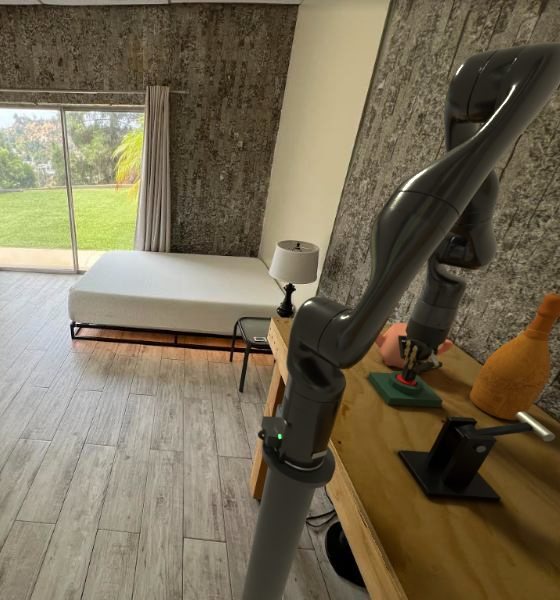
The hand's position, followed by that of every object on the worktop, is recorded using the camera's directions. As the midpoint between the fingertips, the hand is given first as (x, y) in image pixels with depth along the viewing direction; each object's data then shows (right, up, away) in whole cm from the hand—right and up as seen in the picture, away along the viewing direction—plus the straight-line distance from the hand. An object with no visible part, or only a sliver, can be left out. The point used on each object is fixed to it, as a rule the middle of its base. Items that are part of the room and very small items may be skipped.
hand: (407, 379), depth 80 cm
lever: (-3, -4, -25) cm, 25 cm away
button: (0, -2, +1) cm, 2 cm away
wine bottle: (+19, -6, -3) cm, 20 cm away
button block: (0, -4, +2) cm, 4 cm away
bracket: (-8, -14, -19) cm, 25 cm away
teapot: (+8, +2, +14) cm, 16 cm away
